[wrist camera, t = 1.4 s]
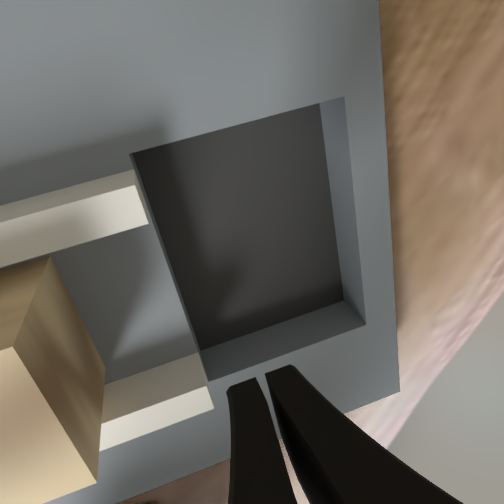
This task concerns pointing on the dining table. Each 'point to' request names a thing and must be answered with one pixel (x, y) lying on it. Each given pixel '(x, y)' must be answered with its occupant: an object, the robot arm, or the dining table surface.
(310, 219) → the trap deck
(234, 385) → the robot arm
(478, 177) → the dining table surface
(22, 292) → the maple block
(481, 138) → the dining table surface
